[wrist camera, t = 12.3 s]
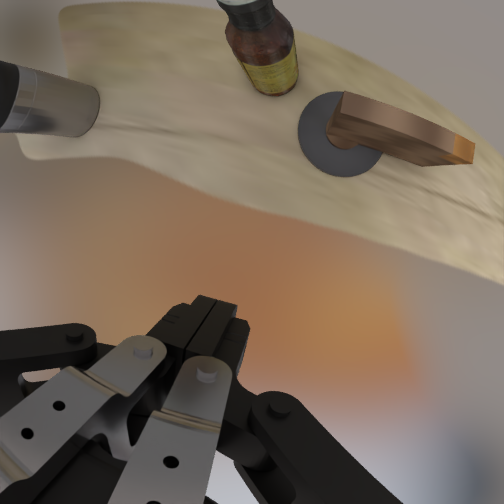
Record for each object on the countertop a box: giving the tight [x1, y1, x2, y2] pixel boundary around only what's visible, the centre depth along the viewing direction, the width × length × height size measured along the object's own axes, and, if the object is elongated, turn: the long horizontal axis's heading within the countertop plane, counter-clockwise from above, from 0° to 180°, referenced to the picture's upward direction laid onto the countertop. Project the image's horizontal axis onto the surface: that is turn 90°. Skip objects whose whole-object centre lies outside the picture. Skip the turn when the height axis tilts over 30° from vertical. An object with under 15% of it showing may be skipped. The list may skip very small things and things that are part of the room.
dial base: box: [298, 92, 382, 177], centre depth 32 cm, size 11×11×1 cm
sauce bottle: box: [217, 0, 298, 96], centre depth 22 cm, size 6×6×20 cm
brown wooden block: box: [326, 91, 475, 167], centre depth 25 cm, size 13×4×12 cm, turn 78°
